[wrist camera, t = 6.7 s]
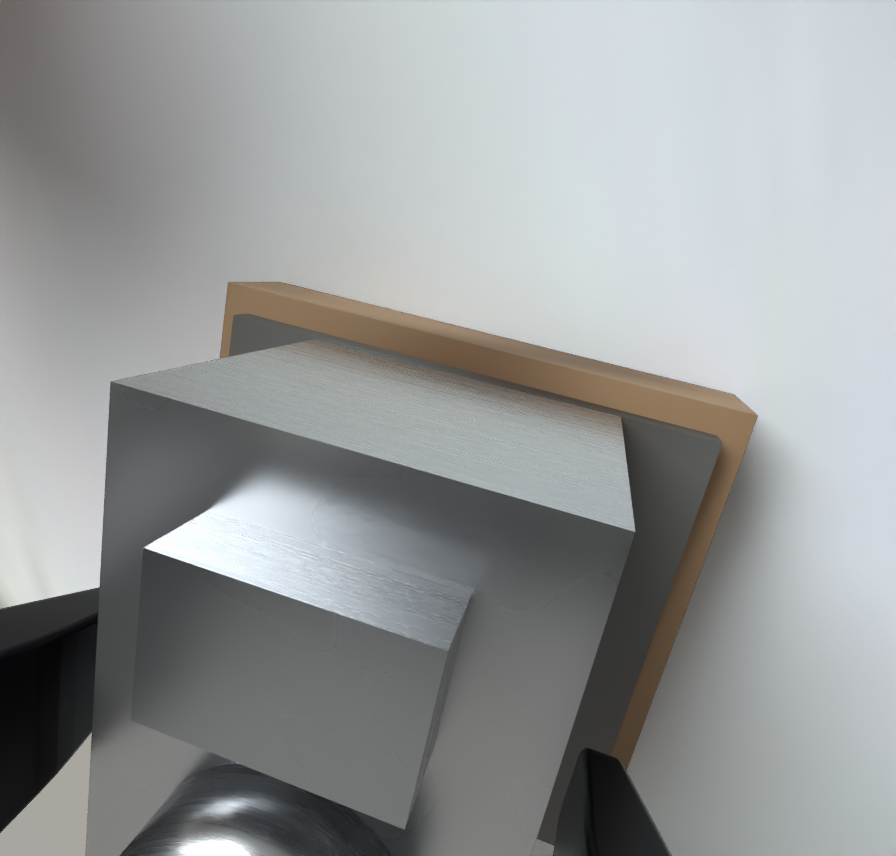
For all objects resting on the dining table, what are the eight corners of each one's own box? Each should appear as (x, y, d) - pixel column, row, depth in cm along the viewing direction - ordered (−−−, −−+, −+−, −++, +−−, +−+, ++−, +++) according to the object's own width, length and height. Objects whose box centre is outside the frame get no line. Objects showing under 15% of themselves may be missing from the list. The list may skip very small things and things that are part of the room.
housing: (621, 416, 8) (643, 597, 4) (502, 815, 10) (414, 1275, 6) (315, 339, 9) (5, 404, 4) (259, 722, 11) (0, 1054, 6)
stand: (734, 394, 10) (764, 422, 8) (594, 786, 12) (592, 881, 10) (279, 282, 11) (212, 282, 9) (229, 651, 13) (168, 712, 12)
